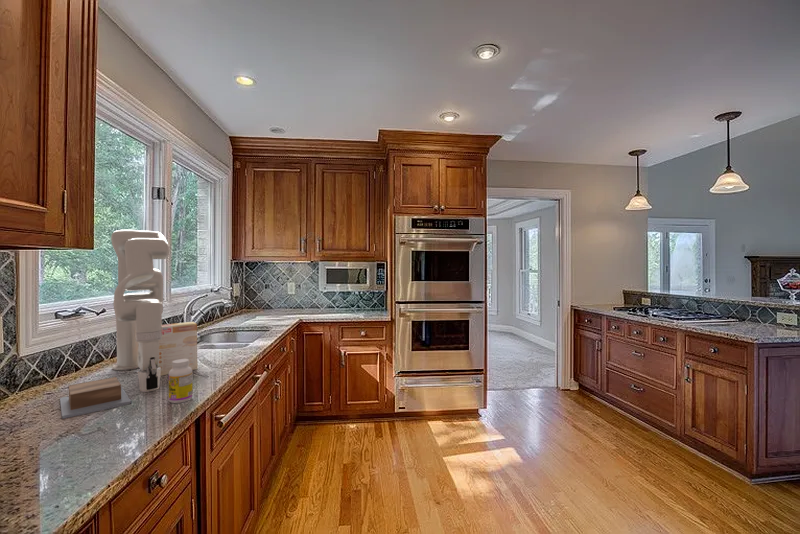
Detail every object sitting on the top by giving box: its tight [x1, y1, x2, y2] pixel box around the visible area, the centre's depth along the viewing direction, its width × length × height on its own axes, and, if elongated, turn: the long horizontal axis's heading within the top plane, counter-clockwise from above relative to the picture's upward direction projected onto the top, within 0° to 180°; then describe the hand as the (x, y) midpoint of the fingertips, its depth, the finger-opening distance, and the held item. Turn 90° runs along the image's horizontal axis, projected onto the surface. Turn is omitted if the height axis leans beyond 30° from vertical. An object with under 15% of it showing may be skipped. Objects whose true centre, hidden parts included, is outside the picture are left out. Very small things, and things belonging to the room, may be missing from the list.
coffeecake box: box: [158, 321, 199, 377], centre depth 149 cm, size 15×7×20 cm, turn 133°
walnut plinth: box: [68, 376, 122, 410], centre depth 116 cm, size 12×12×5 cm
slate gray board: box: [59, 385, 132, 420], centre depth 116 cm, size 20×16×1 cm
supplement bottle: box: [168, 359, 194, 404], centre depth 117 cm, size 7×7×13 cm
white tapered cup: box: [137, 367, 161, 393], centre depth 128 cm, size 7×7×7 cm
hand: (149, 385), depth 128 cm, fingers open, 7 cm apart
